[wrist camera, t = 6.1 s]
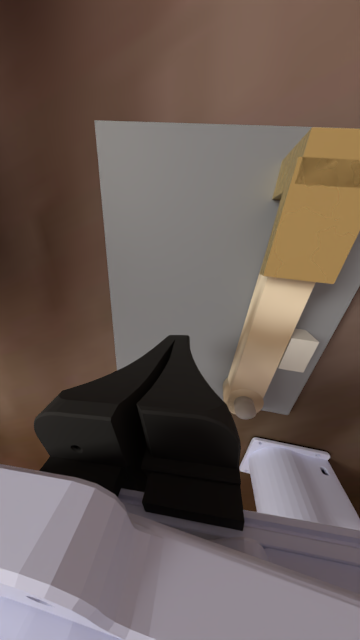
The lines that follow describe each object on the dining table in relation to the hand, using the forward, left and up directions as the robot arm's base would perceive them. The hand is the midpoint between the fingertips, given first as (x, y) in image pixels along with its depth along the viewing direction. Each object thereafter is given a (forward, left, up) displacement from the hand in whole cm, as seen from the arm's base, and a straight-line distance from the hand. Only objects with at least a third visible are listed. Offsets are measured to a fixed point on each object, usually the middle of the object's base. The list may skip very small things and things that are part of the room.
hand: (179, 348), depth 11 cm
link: (-6, 0, -5) cm, 8 cm away
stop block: (-9, +1, -6) cm, 11 cm away
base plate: (-2, -1, -6) cm, 7 cm away
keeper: (-6, -8, -5) cm, 12 cm away
